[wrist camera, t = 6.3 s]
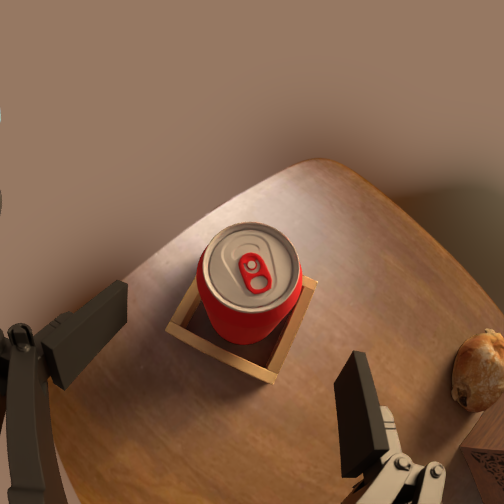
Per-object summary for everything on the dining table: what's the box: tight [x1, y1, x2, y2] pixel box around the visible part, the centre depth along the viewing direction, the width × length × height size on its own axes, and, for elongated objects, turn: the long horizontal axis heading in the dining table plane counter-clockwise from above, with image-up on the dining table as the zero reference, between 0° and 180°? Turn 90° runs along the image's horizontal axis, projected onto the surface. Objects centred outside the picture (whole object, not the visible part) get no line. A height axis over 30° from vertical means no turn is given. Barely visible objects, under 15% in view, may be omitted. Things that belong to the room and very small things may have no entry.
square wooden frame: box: [165, 275, 317, 385], centre depth 24 cm, size 10×10×2 cm
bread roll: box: [451, 329, 504, 412], centre depth 21 cm, size 10×10×8 cm
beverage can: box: [196, 222, 302, 345], centre depth 20 cm, size 6×6×12 cm
